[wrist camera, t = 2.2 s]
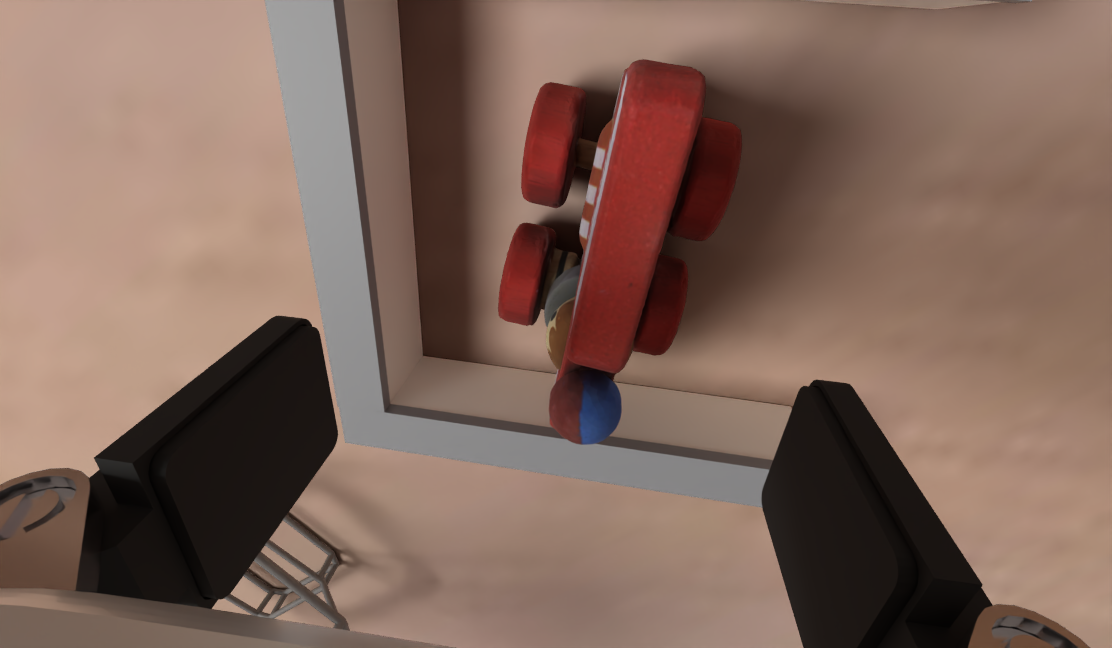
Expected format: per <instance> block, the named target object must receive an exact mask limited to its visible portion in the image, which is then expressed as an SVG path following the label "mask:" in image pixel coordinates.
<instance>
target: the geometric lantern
mask: <svg viewBox="0 0 1112 648" xmlns="http://www.w3.org/2000/svg"><path fill="white" fill-rule="evenodd" d="M283 521H285V522H286V523H287V524H289V525H290V526H291V527H292V528H294V529H295V530H296V531H298V532H299V533H300V534H302V535H303V536H304V537H305V538H307V539H308V540H309V541H311V542H312V543H313V544H314V545H316V546H317V547H318V548H320V549H321V550H322V551H324V552H325V553H326V554H327V555H328V557H327V559H326V561H325V563H324V565H323V567H322V568H321V570H320V571H319V572H317V573H315V572H314V571H313V570H311V569H310V568H308V567H307V566H306V565H304V564H303V563H301V562H300V561H299V560H297V559H296V558H294V557H293V556H292V555H290V554H289V553H287V552H286V551H284V550H283V549H282V548H280V547H279V546H277V545H276V544H275V543H273V542H272V541H270V540H268V542H267V543H266V544H265V546H267V547H268V548H270V549H271V550H272V551H274V552H275V553H277V554H278V555H280V556H281V557H282V558H284V559H285V560H287V561H288V562H289V563H291V564H292V565H294V566H295V567H297V568H298V569H299V570H301V571H302V572H304V573H305V574H306V575H308V576H309V577H308V578H306V579H304V580H302V581H300V582H299V581H297V580H296V579H295V578H294V577H292V576H291V575H290V574H288V573H287V572H286V571H285V570H283V569H282V568H281V567H280V566H278V565H277V564H276V563H274V562H273V561H272V560H271V559H269V558H268V557H267V556H266V555H264V554H263V553H262V552H261V551H260V553H259V554H258V556H257V557H256V558H255V560H254V561H255V562H256V563H257V564H258V565H260V566H261V567H262V568H264V569H265V570H266V571H267V572H269V573H270V574H271V575H273V576H274V577H275V578H277V579H278V580H279V581H280V582H282V583H283V584H284V585H286V586H287V587H288V589H286V590H284V589H275V588H270V587H269V586H268V585H266V584H265V583H263V582H262V581H261V580H259V579H258V578H256V577H255V576H254V575H252V574H251V573H249V572H248V571H246V572H245V574H244V575H243V576H244V577H245V578H247V579H248V580H250V581H251V582H253V583H254V584H255V585H257V586H258V587H260V588H261V589H263V590H264V591H265V592H267V593H268V594H267V596H266V597H265V598H264V600H263V601H262V603H261V604H260V606H259V607H258V608H257V610H256V609H255V608H253V607H251V606H250V605H248V604H246V603H244V602H243V601H241V600H239V599H238V598H236V597H234V596H233V595H231V594H229V595H228V596H227V597H225V598H224V599H226V600H228V601H230V602H231V603H233V604H235V605H236V606H238V607H240V608H242V609H243V610H245V611H247V612H248V613H250V614H252V615H254V616H259V617H265V618H272V619H274V618H276V617H278V616H279V615H281V614H283V613H285V612H286V611H288V610H290V609H292V608H293V607H295V606H297V605H299V604H300V603H302V602H304V601H306V602H307V603H309V604H310V605H311V606H313V607H314V608H315V609H317V610H318V611H319V612H320V613H322V614H323V615H324V616H326V617H327V618H328V619H329V620H331V621H332V622H333V623H335V625H334V627H333V628H336V629H342V630H348V631H350V629H349V626H348V623H347V621H346V619H345V618H344V617H343V616H342V615H340V614H339V613H338V611H337V609H336V606H335V604H334V601H333V599H332V596H331V594H330V591H329V589H328V586H327V585H328V583H329V581H330V579H331V578H332V576H333V574H334V572H335V571H336V569H337V567H338V566H339V564H340V563H339V561H338V559H337V557H336V555H335V552H334V551H333V550H332V549H330V548H329V547H328V546H326V545H325V544H324V543H322V542H321V541H320V540H319V539H317V538H316V537H315V536H313V535H312V534H311V533H310V532H308V531H307V530H306V529H304V528H303V527H302V526H301V525H299V524H298V523H297V522H295V521H294V520H293V519H292V518H290V517H289V516H288V515H286V516H285V518H284V519H283ZM331 561H332V562H333V564H331V565H330V563H331ZM329 565H330V566H329ZM326 573H328V574H327V575H326V577H325V578H324V575H325V574H326ZM313 580H315V581H316V582H318V583H319V584H320V586H319V587H317V588H315V589H314V590H312V591H310V590H309V589H307V588H306V587H305V586H304V585H306V584H308V583H310V582H311V581H313ZM321 591H322V592H323V594H324V597H325V600H326V602H327V603H325V602H324V601H323V600H321V599H320V598H319V597H318V596H316V594H318V593H320V592H321ZM291 592H295V593H296V594H297V595H298V596H300V598H298V599H296V600H295V601H293V602H291V603H289V604H288V605H286V606H284V607H283V608H281V609H280V607H281V605H282V604H283V602H284V600H285V598H286V597H287V595H288V594H289V593H291ZM273 594H277V595H281V597H280V599H279V600H278V602H277V604H276V605H275V607H274V609H273V611H272V612H271V614H268V613H264V612H262V610H263V609H264V607H265V606H266V605H267V603H268V602H269V600H270V599H271V597H272V596H273Z"/></svg>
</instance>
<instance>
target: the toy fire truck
mask: <svg viewBox="0 0 1112 648" xmlns="http://www.w3.org/2000/svg"><path fill="white" fill-rule="evenodd" d="M705 94H706V83H705V76H704V75H703V74H702V73H701V72H699V71H697V70H696V69H693V68H692V67H686V66H680V65H673V64H667V63H662V62H656V61H650V60H638V61H635V62H633V63H632V64H631V65H630V67H629V68H627V69H625V71H624V73H623V75H622V79H621V83H620V87H619V92H618V97H617V101H616V105H615V109H614V113H613V117H612V120H611V121H610V122H608V123H607V125H606V126H605V127H604V129H603V130H602V132H601V134H600V137H599V140H598V143H597V142H593V141H589V140H585V139H581V135H582V130H583V124H584V117H585V111H586V94H585V92H584V91H583V90H582V89H581V88H578V87H573V86H568V85H563V84H558V83H552V82H550V83H546V84H545V85H543V86H542V87H541V88H540V90H539V93H538V95H537V98H536V101H535V104H534V107H533V110H532V114H531V119H530V123H529V127H528V132H527V137H526V142H525V148H524V156H523V165H522V180H521V188H522V194H523V197H524V199H526V200H527V201H529V202H531V203H536V204H540V205H544V206H549V207H553V208H558V207H560V206H562V205H563V204H564V203H565V201H566V199H567V196H568V193H569V190H570V186H571V182H572V178H573V174H574V170H575V167H582V168H585V169H588V170H592V172H591V176H590V180H589V185H588V190H587V196H586V201H585V205H584V209H583V213H582V219H581V225H580V231H579V235H580V242H581V245H582V247H583V250H584V252H583V256H582V259H579V258H578V257H577V254H575V253H572V252H567V251H562V250H559V249H556V248H555V244H556V233H555V231H554V230H553V229H551V228H549V227H545V226H540V225H536V224H531V223H522V224H520V225H519V227H518V228H517V229H516V232H515V233H514V236H513V238H512V241H511V244H510V247H509V251H508V254H507V258H506V262H505V265H504V270H503V275H502V280H501V285H500V292H499V305H498V312H499V316H500V318H502V319H504V320H505V321H508V322H513V323H518V324H522V325H526V326H528V325H533V324H534V323H535V322H536V321H537V318H538V316H539V314H540V311H541V309H544V310H545V311H544V317H545V323H546V326H547V333H546V345H547V350H548V353H549V355H550V358H551V360H552V362H553V363H554V365H555V366H556V368H557V369H558V370H557V375H556V380H555V384H554V386H553V388H552V390H551V392H550V400H549V415H550V419H549V421H550V425H551V426H552V427H553V428H554V429H556V431H557V432H558V433H559V434H560V435H561V436H562V437H564V438H565V439H567V440H568V441H570V442H572V443H575V444H580V445H589V444H595V443H599V442H601V441H603V440H605V439H606V438H607V437H608V436H610V435H611V434H612V433H613V431H614V430H615V429H616V427H617V425H618V423H619V421H620V418H621V413H622V404H621V395H620V392H619V389H618V387H617V385H616V384H615V383H614V382H613V379H614V376H615V374H616V373H618V372H620V371H621V370H622V369H623V368H624V367H625V365H626V363H627V362H628V360H629V358H630V356H631V353H632V350H633V351H636V352H642V353H647V354H651V355H661V354H664V353H665V352H666V351H667V350H668V348H669V347H670V345H671V344H672V342H673V339H674V337H675V335H676V333H677V329H678V326H679V323H680V320H681V317H682V313H683V310H684V306H685V301H686V295H687V287H688V270H687V266H686V264H685V262H684V261H683V260H681V259H679V258H675V257H670V256H665V255H660V254H659V253H660V251H661V248H662V245H663V241H664V237H665V234H666V231H668V232H669V233H670V234H671V235H672V236H677V237H682V238H685V239H690V240H695V241H703V240H706V239H707V238H708V237H709V236H710V235H711V234H712V233H713V232H714V231H715V229H716V228H717V227H718V225H719V223H720V221H721V219H722V218H723V216H724V213H725V211H726V208H727V206H728V203H729V200H730V197H731V194H732V191H733V189H734V185H735V182H736V178H737V173H738V169H739V164H740V158H741V149H742V135H741V130H740V129H739V128H738V127H737V126H736V125H735V124H732V123H729V122H724V121H719V120H715V119H711V118H702V113H703V108H704V102H705Z"/></svg>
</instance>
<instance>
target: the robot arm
mask: <svg viewBox="0 0 1112 648" xmlns="http://www.w3.org/2000/svg"><path fill="white" fill-rule="evenodd" d="M337 437H338V430H337V424H336V419H335V413H334V408H333V403H332V397H331V392H330V387H329V381H328V376H327V371H326V365H325V360H324V354H323V349H322V344H321V338H320V334H319V331H318V330H317V328H315V327H312V325H311V323H310V322H309V321H308V320H307V319H303V318H294V317H286V316H275V317H273V318H271V319H270V320H269V321H267V322H266V323H265V324H264V325H262V326H261V327H260V328H258V329H257V330H256V331H255V332H253V333H252V334H251V335H250V336H248V337H247V338H246V339H244V340H243V341H242V342H241V343H239V344H238V345H237V346H236V347H234V348H233V349H232V350H230V351H229V352H228V353H227V354H225V355H224V356H223V357H222V358H220V359H219V360H218V361H216V362H215V363H214V364H213V365H211V366H210V367H209V368H208V369H206V370H205V371H204V372H202V373H201V374H200V375H199V376H197V377H196V378H195V379H194V380H192V381H191V382H190V383H188V384H187V385H186V386H185V387H183V388H182V389H181V390H180V391H178V392H177V393H176V394H174V395H173V396H172V397H171V398H169V399H168V400H167V401H166V402H164V403H163V404H162V405H160V406H159V407H158V408H157V409H155V410H154V411H153V412H152V413H150V414H149V415H148V416H146V417H145V418H144V419H143V420H141V421H140V422H139V423H138V424H136V425H135V426H134V427H133V428H131V429H130V430H129V431H127V432H126V433H125V434H124V435H122V436H121V437H120V438H119V439H117V440H116V441H115V442H113V443H112V444H111V445H110V446H108V447H107V448H106V449H105V450H103V451H102V452H101V453H99V454H98V455H97V456H96V457H94V459H95V461H96V463H97V465H98V467H99V469H100V470H99V471H97V472H96V473H95V474H94V475H93V476H91V477H90V478H89V477H88V476H86V475H85V474H84V473H83V472H82V471H79V470H74V469H70V468H54V469H47V470H42V471H37V472H32V473H29V474H26V475H23V476H20V477H17V478H14V479H11V480H9V481H7V482H5V483H3V484H1V485H0V648H454V647H448V646H442V645H436V644H429V643H423V642H417V641H411V640H405V639H398V638H392V637H386V636H380V635H374V634H367V633H361V632H355V631H348V630H342V629H336V628H329V627H323V626H316V625H310V624H304V623H297V622H291V621H284V620H278V619H272V618H265V617H259V616H252V615H246V614H240V613H233V612H227V611H221V610H214V609H212V607H213V606H214V604H215V603H216V602H217V600H218V599H223V598H225V597H227V596H228V595H229V594H230V593H231V592H232V590H233V589H234V588H235V586H236V585H237V584H238V582H239V581H240V579H241V578H242V577H243V575H244V574H245V572H246V571H247V570H248V568H249V567H250V565H251V564H252V563H253V561H254V560H255V558H256V557H257V556H258V554H259V553H260V551H261V550H262V549H263V547H264V546H265V544H266V543H267V542H268V540H269V539H270V537H271V536H272V535H273V533H274V532H275V530H276V529H277V528H278V526H279V525H280V523H281V522H282V520H283V519H284V518H285V516H286V515H287V513H288V512H289V511H290V509H291V508H292V506H293V505H294V504H295V502H296V501H297V499H298V498H299V497H300V495H301V494H302V492H303V491H304V490H305V488H306V487H307V485H308V484H309V483H310V481H311V480H312V478H313V477H314V476H315V474H316V473H317V471H318V470H319V469H320V467H321V466H322V464H323V463H324V462H325V460H326V459H327V457H328V456H329V455H330V453H331V452H332V450H333V449H334V447H335V445H336V442H337ZM761 501H762V508H763V512H764V515H765V519H766V522H767V525H768V529H769V532H770V535H771V539H772V542H773V546H774V549H775V552H776V556H777V559H778V563H779V566H780V569H781V573H782V576H783V580H784V583H785V586H786V590H787V593H788V597H789V600H790V603H791V607H792V610H793V613H794V617H795V620H796V624H797V627H798V630H799V634H800V637H801V641H802V644H803V647H804V648H1090V647H1089V646H1088V645H1087V644H1086V643H1085V642H1083V641H1082V640H1081V639H1080V638H1079V637H1077V636H1076V635H1074V634H1073V633H1071V632H1070V631H1068V630H1067V629H1065V628H1064V627H1063V626H1061V625H1060V624H1058V623H1056V622H1054V621H1052V620H1050V619H1048V618H1046V617H1044V616H1042V615H1040V614H1038V613H1036V612H1034V611H1031V610H1028V609H1025V608H1021V607H1018V606H1015V605H1002V604H996V605H992V603H991V602H990V600H989V599H988V597H987V596H986V594H985V593H984V591H983V590H982V588H981V587H982V583H981V582H980V580H979V579H978V577H977V576H976V574H975V572H974V571H973V569H972V568H971V566H970V565H969V563H968V562H967V560H966V559H965V557H964V556H963V554H962V553H961V551H960V550H959V548H958V547H957V545H956V544H955V542H954V541H953V539H952V538H951V536H950V534H949V533H948V531H947V530H946V528H945V527H944V525H943V524H942V522H941V521H940V519H939V518H938V516H937V515H936V513H935V512H934V510H933V509H932V507H931V506H930V504H929V503H928V501H927V500H926V498H925V497H924V495H923V493H922V492H921V490H920V489H919V487H918V486H917V484H916V483H915V481H914V480H913V478H912V477H911V475H910V474H909V472H908V471H907V469H906V468H905V466H904V465H903V463H902V462H901V460H900V459H899V457H898V455H897V454H896V452H895V451H894V449H893V448H892V446H891V445H890V443H889V442H888V440H887V439H886V437H885V436H884V434H883V433H882V431H881V430H880V428H879V427H878V425H877V424H876V422H875V421H874V419H873V417H872V416H871V414H870V413H869V411H868V410H867V408H866V407H865V405H864V404H863V402H862V401H861V399H860V398H859V396H858V395H857V393H856V392H855V390H854V389H853V387H852V386H851V385H850V384H847V383H840V382H832V381H823V380H814V381H813V382H812V383H811V384H810V386H809V387H808V386H803V387H801V389H800V390H799V392H798V395H797V397H796V400H795V403H794V405H793V408H792V411H791V413H790V416H789V419H788V421H787V424H786V427H785V430H784V432H783V435H782V438H781V440H780V443H779V446H778V448H777V451H776V454H775V456H774V459H773V462H772V465H771V467H770V470H769V473H768V475H767V478H766V481H765V483H764V486H763V489H762V497H761Z"/></svg>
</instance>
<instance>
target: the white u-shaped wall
mask: <svg viewBox="0 0 1112 648" xmlns="http://www.w3.org/2000/svg"><path fill="white" fill-rule="evenodd" d="M802 1H817V2H832V3H847V4H862V5H876V6H891V7H906V8H921V9H936V10H937V9H946V8H955V7H964V6H973V5H982V4H991V3H1000V2H1010V3H1020V2H1029V1H1032V0H802ZM265 5H266V10H267V16H268V21H269V27H270V32H271V38H272V44H273V49H274V55H275V60H276V66H277V71H278V77H279V83H280V88H281V94H282V99H283V105H284V110H285V116H286V121H287V127H288V133H289V138H290V144H291V149H292V155H293V160H294V166H295V172H296V177H297V183H298V188H299V194H300V199H301V205H302V210H303V216H304V222H305V227H306V233H307V238H308V244H309V249H310V255H311V261H312V266H313V272H314V277H315V283H316V288H317V294H318V300H319V305H320V311H321V316H322V322H323V327H324V333H325V338H326V344H327V350H328V355H329V361H330V366H331V372H332V377H333V383H334V389H335V394H336V400H337V405H338V407H339V410H340V416H341V422H342V427H343V433H344V438H345V443H351V444H357V445H363V446H370V447H376V448H383V449H389V450H396V451H402V452H408V453H415V454H421V455H428V456H434V457H441V458H447V459H453V460H460V461H466V462H473V463H479V464H486V465H492V466H498V467H505V468H511V469H518V470H524V471H531V472H537V473H543V474H550V475H556V476H563V477H569V478H576V479H582V480H588V481H595V482H601V483H608V484H614V485H621V486H627V487H633V488H640V489H646V490H653V491H659V492H666V493H672V494H678V495H685V496H691V497H698V498H704V499H711V500H717V501H723V502H730V503H736V504H743V505H749V506H756V507H762V501H761V497H762V489H763V486H764V483H765V481H766V478H767V475H768V473H769V470H770V467H771V465H772V462H773V459H774V456H775V454H776V451H777V448H778V446H779V443H780V440H781V438H782V435H783V432H784V430H785V427H786V424H787V421H788V419H789V416H790V413H791V411H792V408H791V406H785V405H777V404H770V403H763V402H755V401H748V400H741V399H734V398H726V397H719V396H712V395H704V394H697V393H690V392H683V391H675V390H668V389H661V388H653V387H646V386H639V385H632V384H624V383H617V382H614V383H615V384H616V385H617V387H618V389H619V392H620V395H621V404H622V413H621V418H620V421H619V423H618V425H617V427H616V429H615V430H614V431H613V433H612V434H611V435H610V436H608V437H607V438H606V439H605V440H603V441H601V442H599V443H595V444H589V445H580V444H575V443H572V442H570V441H568V440H567V439H565V438H564V437H562V436H561V435H560V434H559V433H558V432H557V431H556V429H554V428H553V427H552V426H551V425H550V421H549V419H550V415H549V400H550V392H551V390H552V388H553V386H554V384H555V380H556V375H557V374H551V373H544V372H537V371H530V370H522V369H515V368H508V367H500V366H493V365H486V364H479V363H471V362H464V361H457V360H449V359H442V358H435V357H428V356H423V349H422V335H421V321H420V308H419V294H418V280H417V266H416V252H415V238H414V225H413V211H412V197H411V183H410V169H409V155H408V142H407V128H406V114H405V100H404V86H403V72H402V59H401V45H400V31H399V17H398V3H397V0H265Z"/></svg>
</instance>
